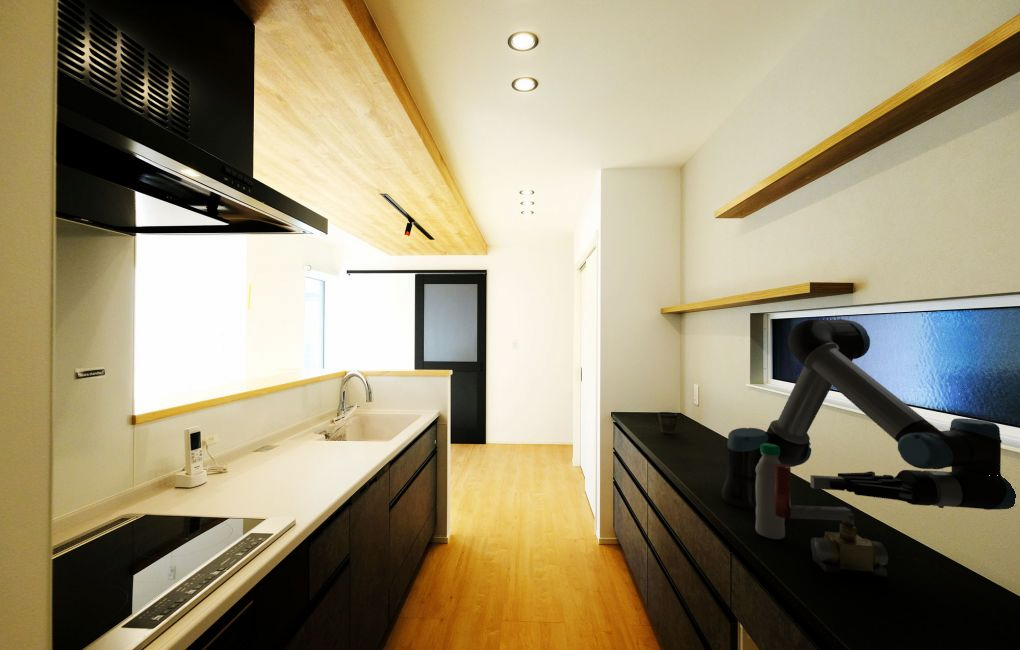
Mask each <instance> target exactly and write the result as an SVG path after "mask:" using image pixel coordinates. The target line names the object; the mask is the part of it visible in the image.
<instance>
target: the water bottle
mask: <svg viewBox="0 0 1020 650" xmlns="http://www.w3.org/2000/svg"><path fill="white" fill-rule="evenodd" d="M760 451H761V454H762V458H761V459H760V460H759V463H758V464H757V466H756V510H755V523H754V524H755V531H756V533H757V534H759V535H760V536H762V537H764V538H767V539H770V540H782V539H784V538H785V537H786V527H785V522H786V521H785V520H786V518H781V517H778V516H776V515H775V465H776V464H781V463H780V461H779V460H778V456H780V455H779V454H780V447H779V446H777V445H774V444H768V443H764V444H761V446H760Z"/></svg>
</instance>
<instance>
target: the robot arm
mask: <svg viewBox="0 0 1020 650" xmlns="http://www.w3.org/2000/svg"><path fill="white" fill-rule="evenodd" d="M787 338H788V340H787V341H788V342H787V344H788V347H789V350H790V353H792V355H793V357H794V358H795V359H796V360H797V361H798V362H799V363H800V364H801V365H802V366H803V367H802V369H801V372H800V373H799V376H798V378H797V380H796V382H795V384H794V386H793V388H792V390H791V392H790V394H789V397H788V398H787V400H786V403H785V405H784V407H783V409H782V411H781V414H780V415H779V417H778V419H775V420H772V421H771V422H770V424H769V426H768V428H767V430H766V431H765V430H763V429H760V428H757V427H741V428H740V427H739V428H736V429H732V430H731V431H730V432H729V433H728V436H727V442H726V446H727V476H726V479H725V481H724V483H723V487H722V488H721V489H722V490H721V497H722V500H723V501H725V502H726V503H728V504H730V505H733V507H737V508H740V509H745V510H751V511H756V466H757V464H758V463H759V460H760V459H761V458H762V454H761V451H760V446H761V444H764V443H768V444H774V445H777V446H779V447H780V454H779V455H780V456H778V460H779V461H780V463H781V464H783V465H787V466H790V467H791V468H794V467H797V466H800V465H804V464H805V463H807V461H809V459H810V458H811V456H812V455H811V454H812V447H810V446H811V445H812V444H811V442H810V439H811V438H810V437H811V436H810V435H809V433H808V432H809V430H810V428H811V426H812V424H813V423H814V421H815V418H816V417H817V414H818V413H819V411H820V410H821V407H822V405H823V403H824V401H825V399H826V398H827V396H828V394H829V392H830V390H831V388H832V386H833V388H835V389H836V390H837V391H838V392H840V394H841V395H842V396H844V397H845V398H846V399H847V400H848V401H849V402H851V403H852V404H853V405H854V406H855V407H857V408H858V409H859V410H860V411H862V413H864V415H866V416H867V417H868V418H869V419H871V421H872V422H874V423H875V424H876V426H878V427H880V429H882V431H884V432H885V433H887V435H889V436H890V437H891V438H892V439H893V440H895V441H896V443H897V451H898V452H899V454H900V457H901V458H902V460H903V461H904V462H905V463H907V464H909V465H910V466H912V467H914V468H916V469H902V470H900V471H899V472H898V473H897V475H896V476H893V475H891V474H882V475H876V472H874V471H872V470H870V471H865V472H841V473H839V472H838V473H837V476H836V475H835V476H832V475H816V474H815V475H814V474H812V475H811V474H810V488H812V489H813V490H827V491H843V492H845V491H846V492H849V493H854V495H855V496H862V497H870V498H878V499H886V500H893V501H895V500H896V501H900V502H905V503H908V504H909V505H913V506H933V507H934V506H935V507H938V508H939V509H944V507H951V508H965V509H980V510H987V511H988V510H989V511H990V510H991V511H992V510H999V511H1001V510H1010V509H1012V508H1011V507H1013V506H1014V504H1015V498H1016V494H1015V491H1014V489H1013V488H1012V486H1011V484H1010V483H1009V482H1008V481H1007V480H1006V479H1005V478H1003V477H1002V476H1001V475H1002V473H1001V470H1002V469H1001V467H1002V466H1001V463H1002V458H1001V454H1002V442H1003V441H1002V440H1001V430H1000V427H999V425H997V424H996V423H994V422H992V421H988V420H982V419H981V420H980V419H975V418H962V417H961V418H954V419H952V420H951V421H950V426H949V429H948V430H940V429H938V428H937V427H936V426H935V425H933V424H932V423H931V422H929V421H928V420H926V418H924V417H923V416H921V415H920V414H919V413H917V411H915V409H913V408H911V407H910V406H909V405H908V404H907V403H905V402H904V401H902V400H901V399H900V398H899V397H897V395H895V394H893V393H892V392H891V391H890V390H889V389H887V388H886V387H884V385H882V384H881V383H880V382H879V381H877V380H876V379H875V378H874V377H872V376H871V375H870V374H869V373H868V372H866V371H865V370H863V369H862V368H861V367H860V366H858V365H857V364H855V363H854V362H853V361H854V360H857V359H860V358H861V357H863V356H864V355H866V354H867V353H868V351H869V349H870V347H871V338H870V335H869V334H868V331H867V329H866V328H865V327H864V326H863V325H861V323H860V322H859V323H858V322H857V321H855V320H849V319H844V318H843V319H842V318H837V319H818V318H817V319H807V320H804V321H801V322H799V323H797V324H796V325H794V327H793V328H792V329H791V330H790V332H789V335H788V337H787ZM945 468H946V469H947V468H951V471H946V470H945V471H944V470H943V469H945ZM917 469H918V470H917ZM919 469H923V470H919ZM940 470H941V471H940ZM989 475H990V476H989ZM997 475H998V476H997ZM1014 507H1015V506H1014ZM1014 507H1013V508H1014ZM1009 508H1010V509H1009Z"/></svg>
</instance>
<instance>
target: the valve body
mask: <svg viewBox="0 0 1020 650" xmlns="http://www.w3.org/2000/svg"><path fill="white" fill-rule="evenodd" d="M857 533H858V528H857V527H856V526H855V525H854V527H852V528H851V527H846V526H844V525H843V524H842V522H840V523H839V532H836V531H824V535H822V536H821V537H811V540H810V548H811V557H812V561H813V562H814V563H816V564H817V565H818V567H819V568H821V569H822V570H823V571H824V572H825V573H835V574H840V571H841V570H843V571H844V570H845V571H856V572H857V571H858V572H867V573H868V574H870V575H871V576H872V577H873V576H875V577H884V578H885V577H886V578H887V576H888V575H887V574H888V571H887V568H885V567H884V566H887V565H888V562H889V555H888V554H889V553H888V551H887V549H886V548H885V546H884V544H882V543H881V542H880V541H876V540H875V541H873V540H870V539H869V538H862V537H861V536H860V535H859V534H857Z"/></svg>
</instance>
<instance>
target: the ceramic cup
mask: <svg viewBox="0 0 1020 650" xmlns="http://www.w3.org/2000/svg"><path fill="white" fill-rule="evenodd" d="M657 415H658V417H657V418H658V423H659V428H660V432H661V433H664V434H674V433H675V430H676V427H677V426H678V425H680V424H681V423H682V422H683V417H682V416H678V413H675V412H670V411H669V412H668V411H661V412H660V411H659V412H658V413H657ZM679 418H680V419H681V420H680V421H679V422H677V420H678V419H679Z"/></svg>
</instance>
